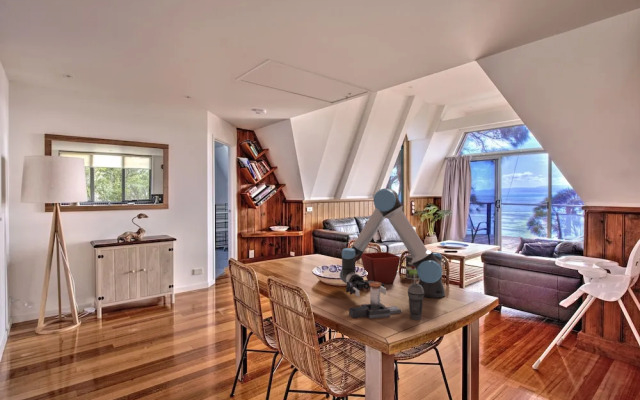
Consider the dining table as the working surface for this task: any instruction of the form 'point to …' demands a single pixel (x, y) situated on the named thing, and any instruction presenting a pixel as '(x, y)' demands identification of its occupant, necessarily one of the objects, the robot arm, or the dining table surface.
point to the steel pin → (375, 295)
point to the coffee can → (410, 269)
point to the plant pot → (381, 266)
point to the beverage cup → (415, 300)
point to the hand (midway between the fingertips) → (372, 292)
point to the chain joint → (372, 311)
